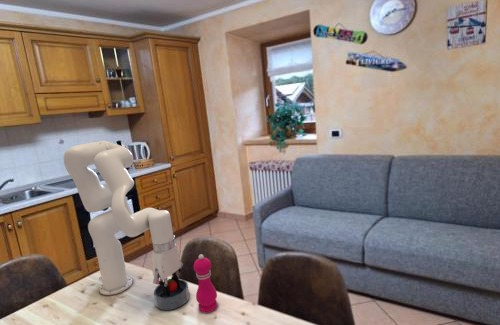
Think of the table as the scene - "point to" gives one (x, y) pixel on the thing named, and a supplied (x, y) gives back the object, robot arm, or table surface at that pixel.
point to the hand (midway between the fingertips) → (171, 290)
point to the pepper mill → (205, 285)
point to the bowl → (172, 296)
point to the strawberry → (172, 285)
